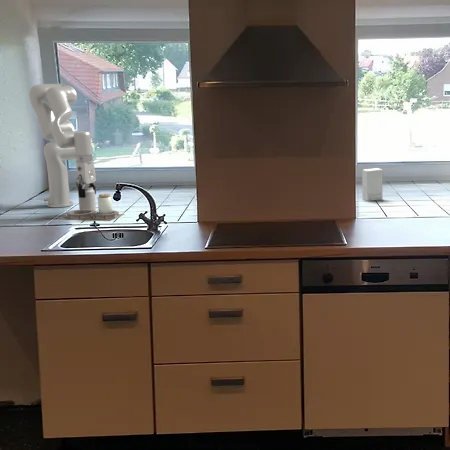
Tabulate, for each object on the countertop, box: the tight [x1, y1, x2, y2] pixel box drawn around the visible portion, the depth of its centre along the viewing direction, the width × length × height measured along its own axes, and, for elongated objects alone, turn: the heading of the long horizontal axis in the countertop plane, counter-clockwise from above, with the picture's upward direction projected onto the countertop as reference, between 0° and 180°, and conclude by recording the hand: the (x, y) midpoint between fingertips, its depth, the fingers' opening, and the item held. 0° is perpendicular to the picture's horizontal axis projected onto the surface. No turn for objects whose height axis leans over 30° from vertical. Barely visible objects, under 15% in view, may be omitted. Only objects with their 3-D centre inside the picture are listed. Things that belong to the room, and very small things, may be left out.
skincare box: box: [361, 167, 384, 202], centre depth 320 cm, size 8×6×15 cm
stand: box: [59, 209, 125, 222], centre depth 294 cm, size 25×15×3 cm, turn 73°
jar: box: [97, 193, 114, 214], centre depth 291 cm, size 6×6×10 cm
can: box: [77, 186, 97, 212], centre depth 308 cm, size 8×8×12 cm
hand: (87, 195), depth 307 cm, fingers open, 9 cm apart
